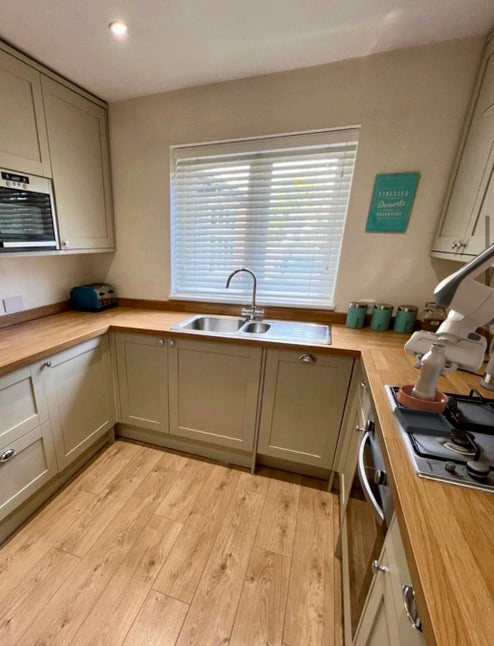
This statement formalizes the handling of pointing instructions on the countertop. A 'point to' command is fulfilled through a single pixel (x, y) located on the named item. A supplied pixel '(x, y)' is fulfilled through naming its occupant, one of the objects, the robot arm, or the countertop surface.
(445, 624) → the countertop surface
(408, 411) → the tray
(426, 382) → the plastic bottle
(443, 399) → the bowl
